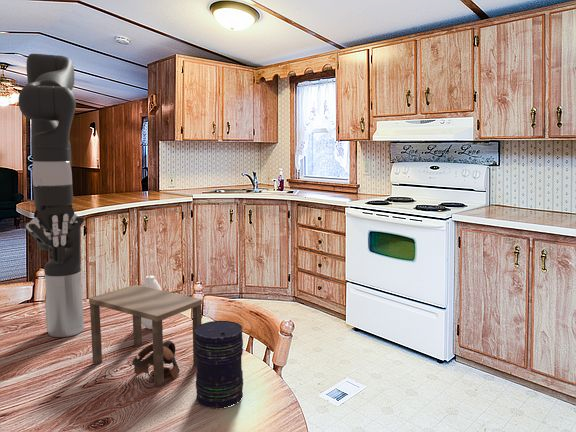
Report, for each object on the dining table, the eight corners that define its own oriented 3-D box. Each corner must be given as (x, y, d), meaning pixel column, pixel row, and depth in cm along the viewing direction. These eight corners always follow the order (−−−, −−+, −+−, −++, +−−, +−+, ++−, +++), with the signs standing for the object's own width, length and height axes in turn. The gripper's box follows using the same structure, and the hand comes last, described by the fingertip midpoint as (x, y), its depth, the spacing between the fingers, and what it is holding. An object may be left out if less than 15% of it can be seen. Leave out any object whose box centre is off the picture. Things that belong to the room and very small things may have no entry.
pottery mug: (173, 387, 108) (152, 359, 105) (141, 399, 111) (120, 371, 109) (193, 352, 118) (174, 326, 116) (163, 364, 122) (144, 338, 119)
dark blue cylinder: (191, 390, 105) (190, 324, 103) (235, 382, 109) (234, 318, 107) (202, 413, 96) (201, 341, 94) (249, 403, 100) (249, 333, 98)
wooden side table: (92, 362, 118) (88, 298, 116) (137, 343, 130) (135, 284, 128) (159, 387, 106) (157, 316, 104) (203, 364, 118) (201, 299, 116)
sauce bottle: (171, 326, 143) (169, 266, 140) (150, 335, 136) (148, 272, 134) (152, 321, 147) (150, 262, 144) (131, 329, 140) (129, 268, 138)
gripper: (70, 180, 111) (74, 255, 113) (11, 183, 100) (17, 266, 102) (91, 181, 107) (95, 259, 109) (32, 185, 96) (38, 271, 98)
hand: (57, 262), depth 106 cm, fingers closed
